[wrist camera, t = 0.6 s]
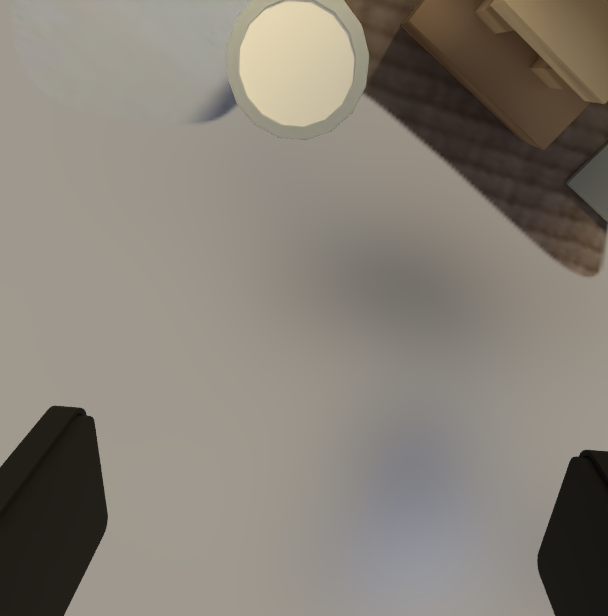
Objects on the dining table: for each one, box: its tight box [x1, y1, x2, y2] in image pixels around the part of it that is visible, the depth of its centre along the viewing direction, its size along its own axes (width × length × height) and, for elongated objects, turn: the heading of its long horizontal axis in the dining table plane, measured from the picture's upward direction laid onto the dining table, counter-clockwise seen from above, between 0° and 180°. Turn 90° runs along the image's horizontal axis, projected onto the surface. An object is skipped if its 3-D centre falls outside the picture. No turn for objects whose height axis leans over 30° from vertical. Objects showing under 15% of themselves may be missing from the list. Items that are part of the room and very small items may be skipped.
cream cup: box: [226, 0, 369, 140], centre depth 28 cm, size 7×7×7 cm
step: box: [401, 0, 591, 150], centre depth 28 cm, size 10×10×4 cm
